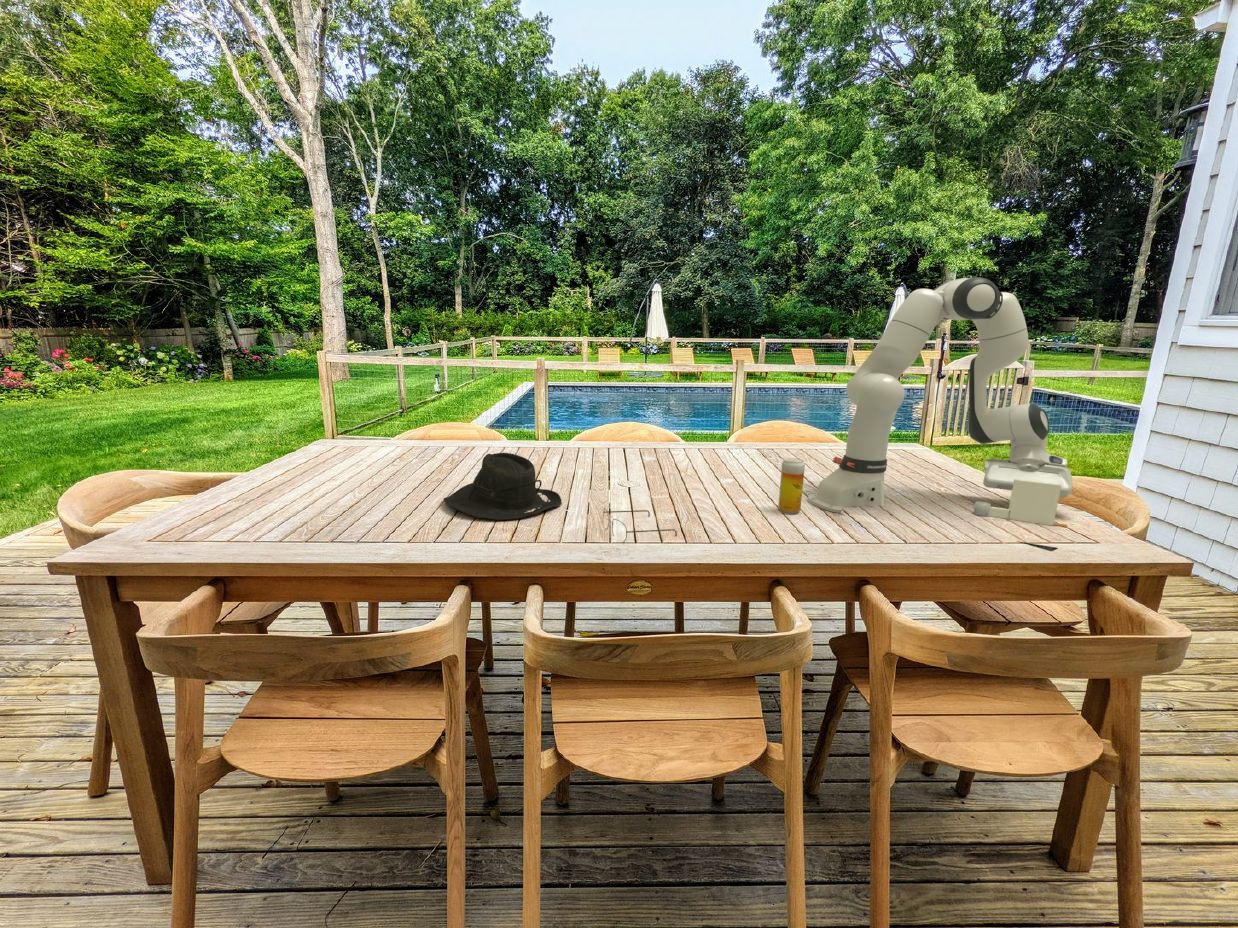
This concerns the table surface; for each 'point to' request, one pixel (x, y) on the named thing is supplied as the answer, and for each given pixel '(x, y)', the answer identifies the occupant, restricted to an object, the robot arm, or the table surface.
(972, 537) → the table surface
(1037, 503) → the peg
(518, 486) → the hat
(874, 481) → the robot arm
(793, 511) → the beer glass
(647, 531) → the eyeglasses
